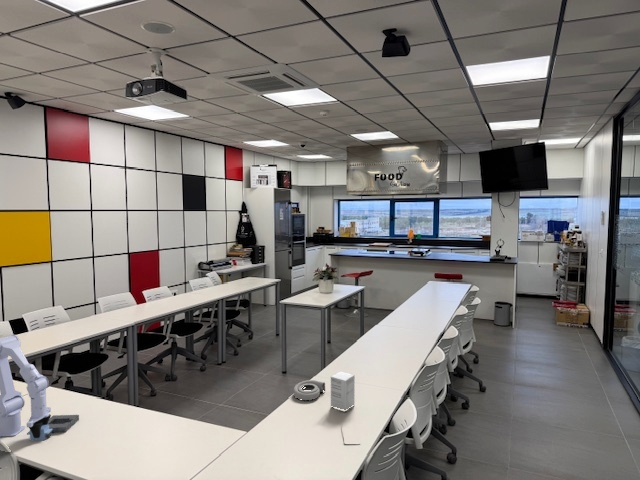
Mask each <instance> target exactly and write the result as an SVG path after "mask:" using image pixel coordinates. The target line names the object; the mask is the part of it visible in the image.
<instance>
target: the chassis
mask: <svg viewBox="0 0 640 480" xmlns="http://www.w3.org/2000/svg"><path fill="white" fill-rule="evenodd" d="M79 420H80V415H79V414H61V415H59V414H58V415H57V414H56V415H51V417H50V419H49V421H48V424H47V425H49V429H53V430H52V431H51V434H59V433H63V434H64V433H67V432H68V431H69V430H71V428H72V427H73V426H75V424H76V423H78V421H79Z"/></svg>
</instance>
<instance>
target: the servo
mask: <svg viewBox="0 0 640 480" xmlns="http://www.w3.org/2000/svg"><path fill="white" fill-rule="evenodd" d="M52 430H53V429H49V425H42V426H41V430H40V437H39V438H34V437H33V434H32V432H31V430H30V429H29V431H28V432H26V436H29V441H30V442H32V441H33V442H34V441H45V440H46V439H48V438H50V437H51V436H52V433H51V431H52Z"/></svg>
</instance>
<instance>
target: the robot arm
mask: <svg viewBox="0 0 640 480" xmlns="http://www.w3.org/2000/svg"><path fill="white" fill-rule="evenodd" d="M21 344H22V342H21V340H20V339H19V337H18V335H16V334H11V335H9V336H6V337H5V336H4V337H1V338H0V437H16V436H17V435H18V434H20V432H22V431H23V430H24V429H26V428H28V429H29V431H30V430H31V432H32V434H33V437H34V438H39V437H40V430H41V426H42V425H47V424H48V421H49V419H50V418H51V417H52V415H51V414H50V413H51V410H52V407H51V406H49V407H47V389H48V388H49V386H50V381H49V379H48V378H47V376H44V375H43V374H40V372H39V371H38V369H37V368H36V366H35V365H34V364H32V363H29V362H28V359H27V358H26V356H25V355H24V352H23V351H22V349H21ZM8 357H10V358H11V359H12V360H13V362H14V363H15V364H16V365H17V367H18V368H20V369H19V374H20V375H21V378H22V379H23V380H24V382H25V383H26V384H27V386H26V391H27V393H28V397H29V398H30V417H29V419H28V421H27V422H26V425H23V426H22V420H21V411H22V410H23V408H24V407H25V405H26V404H25V403H26V401H25V398H24V396H23V395H22V392H21V391H19V390H16V389H15V385H14V381H13V376H12V371H11V367H10V363H9V358H8Z"/></svg>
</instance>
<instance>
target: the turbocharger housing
mask: <svg viewBox="0 0 640 480" xmlns="http://www.w3.org/2000/svg"><path fill="white" fill-rule="evenodd" d="M303 386H304V387H306V388H305V389H303V388H304V387H303ZM302 387H303V388H302ZM301 388H302V389H301ZM304 390H311V391H304ZM323 390H324V391H325V392H326V383H325V382H324V381H319V380H315V379H309V380H308V379H307V380H303V381H299V383H296V384H295V385H294V387H293V396H295V397H296V398H298V399H302V400H309V401H313V400H315V399H317V398H318V397H319V396H320V395H321V394H320V392H323ZM295 397H294V398H295ZM296 398H295V399H296ZM298 399H297V400H298ZM312 399H313V400H312Z"/></svg>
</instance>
